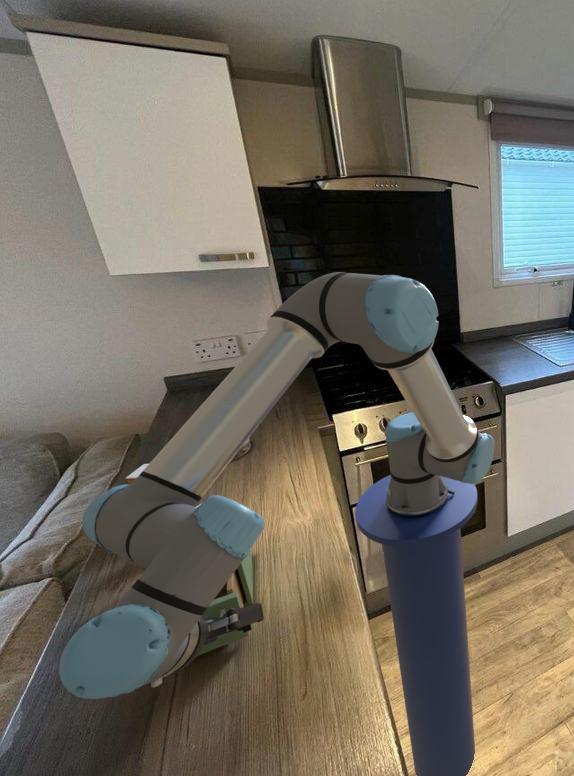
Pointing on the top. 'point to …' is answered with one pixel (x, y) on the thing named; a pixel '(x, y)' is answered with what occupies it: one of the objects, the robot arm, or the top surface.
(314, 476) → the top surface
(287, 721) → the top surface
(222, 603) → the drawer
